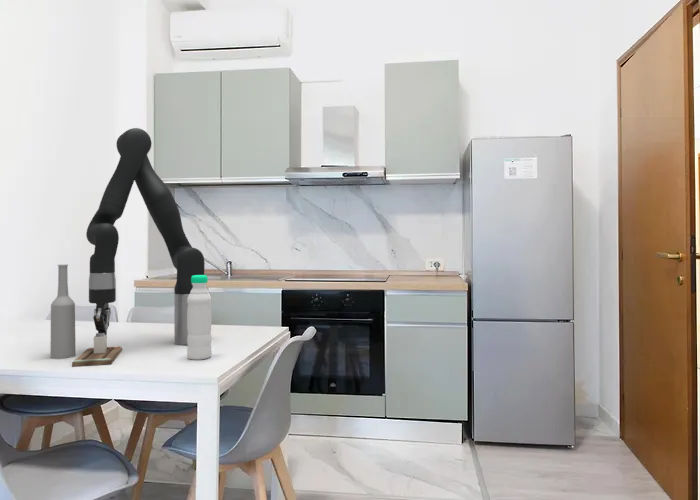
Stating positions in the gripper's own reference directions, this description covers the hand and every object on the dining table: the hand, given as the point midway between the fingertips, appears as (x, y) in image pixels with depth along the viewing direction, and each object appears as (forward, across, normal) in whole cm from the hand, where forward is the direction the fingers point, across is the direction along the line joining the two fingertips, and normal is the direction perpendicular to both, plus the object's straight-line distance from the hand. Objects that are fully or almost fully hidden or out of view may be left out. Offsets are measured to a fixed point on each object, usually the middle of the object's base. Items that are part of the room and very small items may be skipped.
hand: (102, 342), depth 151 cm
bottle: (+4, 0, +11) cm, 12 cm away
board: (+4, -6, 0) cm, 7 cm away
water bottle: (+4, -13, -29) cm, 32 cm away
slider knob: (+2, -4, 0) cm, 4 cm away
